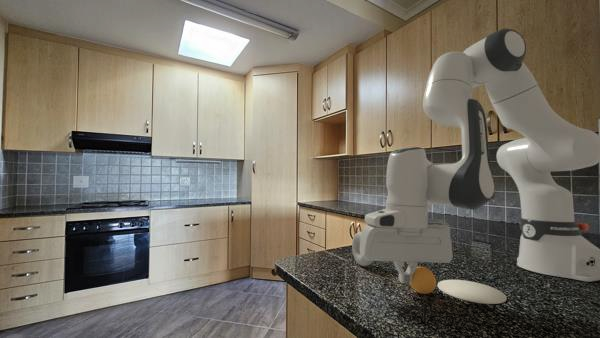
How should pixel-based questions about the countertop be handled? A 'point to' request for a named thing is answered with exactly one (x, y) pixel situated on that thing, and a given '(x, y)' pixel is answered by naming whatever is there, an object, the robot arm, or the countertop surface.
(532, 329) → the countertop surface
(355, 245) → the donut
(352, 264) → the countertop surface
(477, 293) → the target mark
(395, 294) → the countertop surface
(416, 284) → the ball
